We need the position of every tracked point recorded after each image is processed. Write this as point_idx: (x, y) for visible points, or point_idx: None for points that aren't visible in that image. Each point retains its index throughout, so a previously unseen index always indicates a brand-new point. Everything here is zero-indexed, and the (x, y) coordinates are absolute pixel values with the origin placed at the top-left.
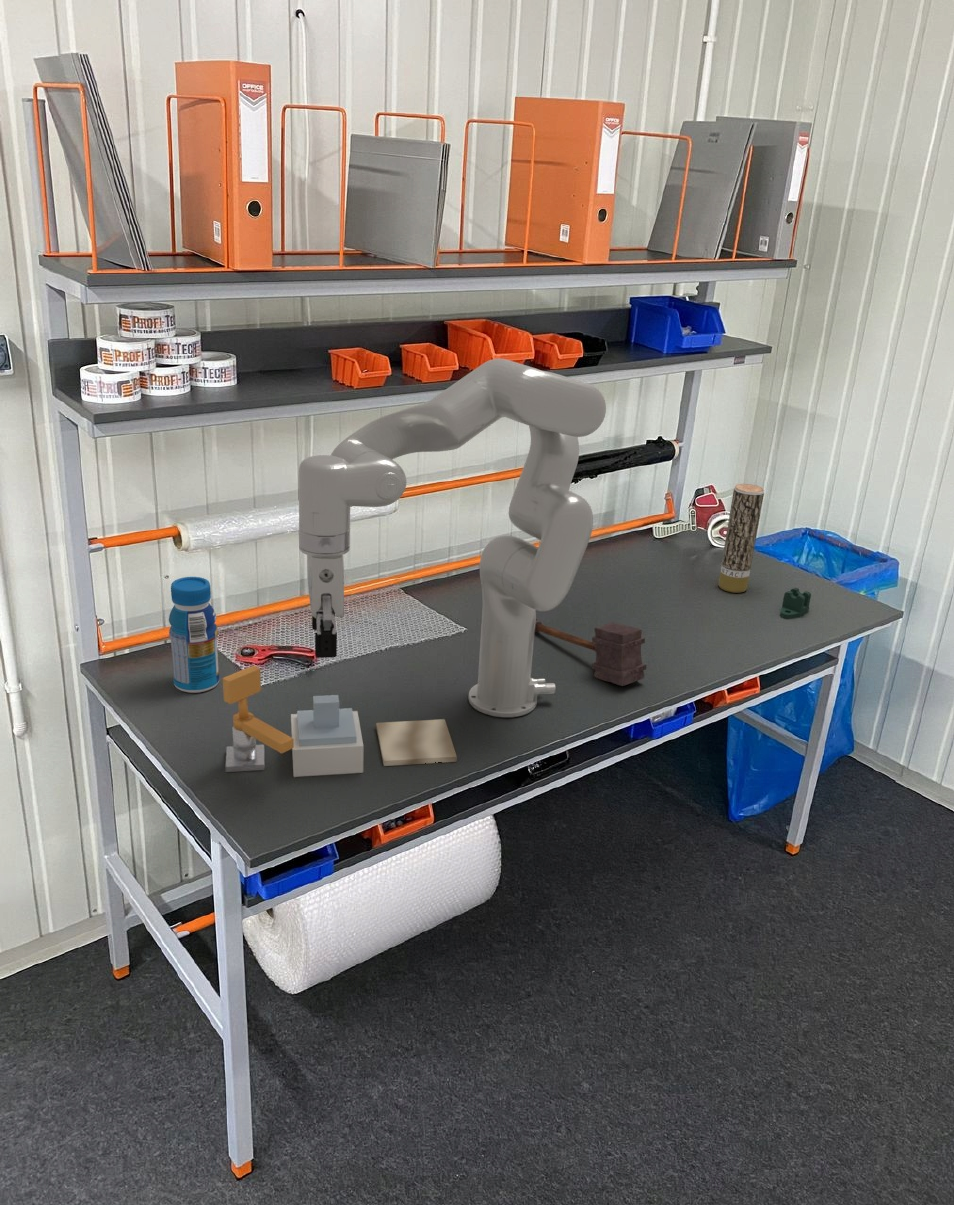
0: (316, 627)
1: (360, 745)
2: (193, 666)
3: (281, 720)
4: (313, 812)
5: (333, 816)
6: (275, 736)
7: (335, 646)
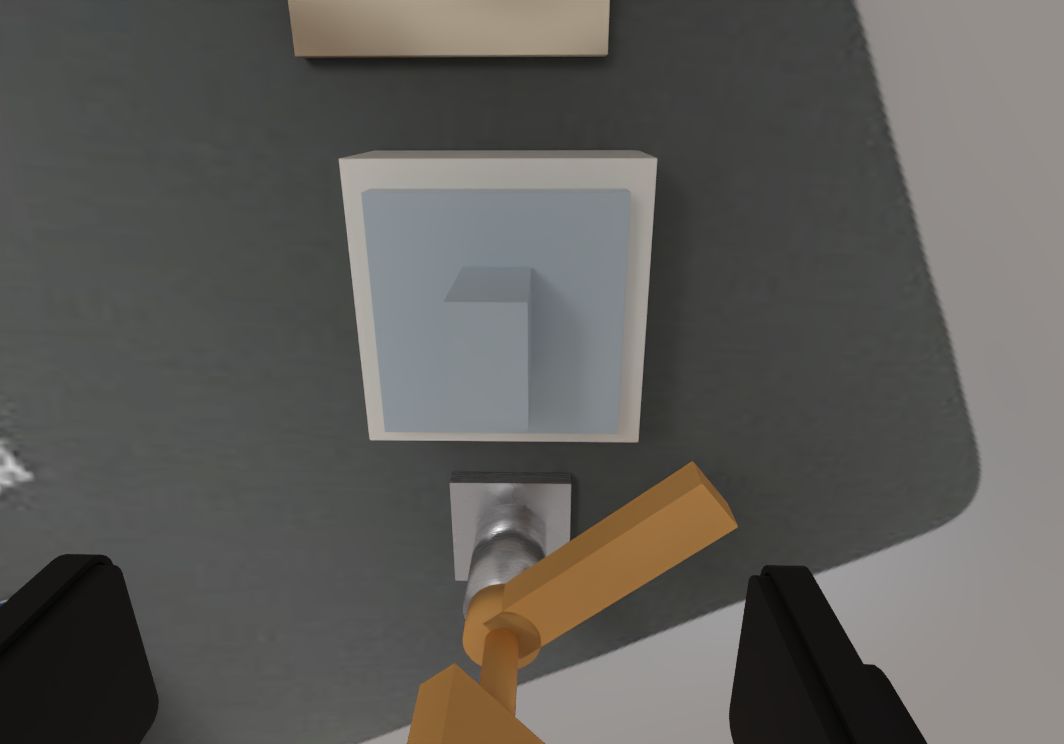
0: (138, 706)
1: (650, 171)
2: None
3: (264, 417)
4: (840, 341)
5: (882, 279)
6: (669, 544)
7: (853, 667)
